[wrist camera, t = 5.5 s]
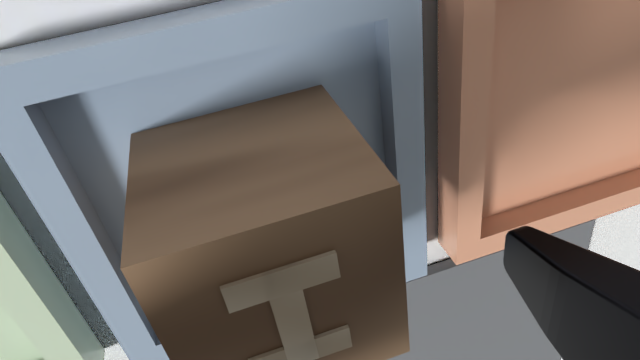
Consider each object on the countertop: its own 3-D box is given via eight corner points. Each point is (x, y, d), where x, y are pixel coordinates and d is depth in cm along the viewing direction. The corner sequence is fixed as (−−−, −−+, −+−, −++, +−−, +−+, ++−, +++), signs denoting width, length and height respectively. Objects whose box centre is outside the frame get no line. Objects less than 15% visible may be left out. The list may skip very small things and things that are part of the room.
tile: (553, 358, 23) (559, 365, 22) (377, 426, 21) (380, 434, 21) (587, 213, 18) (595, 219, 17) (357, 289, 16) (361, 298, 16)
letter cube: (342, 226, 14) (411, 353, 10) (190, 273, 13) (205, 428, 10) (321, 84, 11) (402, 187, 8) (131, 134, 11) (120, 272, 7)
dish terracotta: (662, 168, 18) (693, 186, 17) (437, 241, 16) (456, 265, 15) (756, -119, 12) (807, -118, 11) (437, -48, 11) (464, -40, 10)
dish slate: (410, 250, 16) (427, 275, 15) (138, 339, 15) (137, 372, 14) (397, -39, 11) (421, -30, 10) (-27, 56, 9) (-47, 77, 8)
